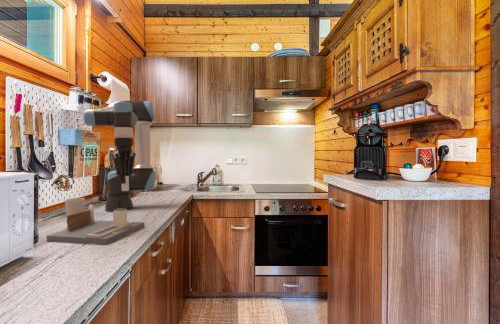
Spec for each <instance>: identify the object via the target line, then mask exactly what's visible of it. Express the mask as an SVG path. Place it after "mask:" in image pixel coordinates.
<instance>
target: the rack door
mask: <svg viewBox="0 0 500 324" xmlns="http://www.w3.org/2000/svg"><path fill="white" fill-rule="evenodd" d="M90 223H91V222H90V210H89V209H86V210H85V209H84V211H82V212H78V213H74V214H71V215H66V224H67V225H66V227H67V228H66V229H67V230H72V229H75V228H78V227H81V226H84V225H87V224H90Z"/></svg>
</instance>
